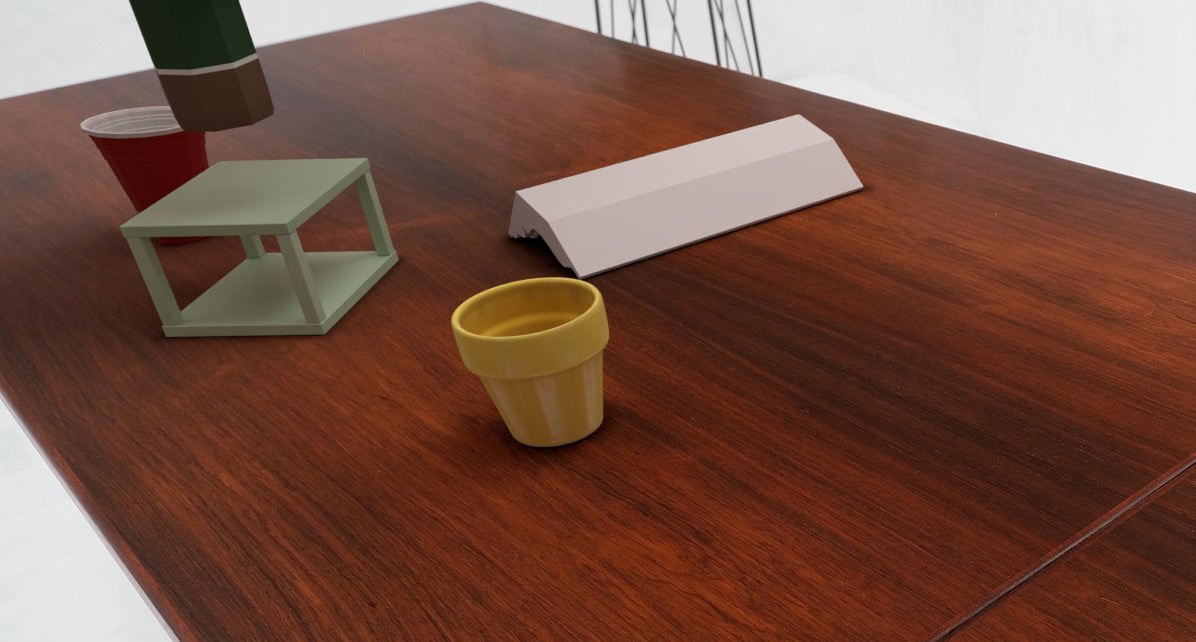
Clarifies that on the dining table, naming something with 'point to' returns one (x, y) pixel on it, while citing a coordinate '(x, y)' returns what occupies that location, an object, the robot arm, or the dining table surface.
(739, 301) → the dining table surface
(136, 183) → the plastic cup
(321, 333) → the rack
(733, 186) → the molding piece
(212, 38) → the beer bottle
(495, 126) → the dining table surface
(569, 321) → the flower pot
